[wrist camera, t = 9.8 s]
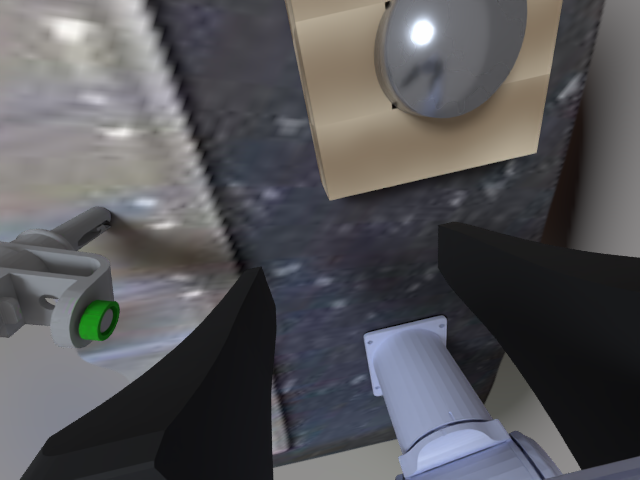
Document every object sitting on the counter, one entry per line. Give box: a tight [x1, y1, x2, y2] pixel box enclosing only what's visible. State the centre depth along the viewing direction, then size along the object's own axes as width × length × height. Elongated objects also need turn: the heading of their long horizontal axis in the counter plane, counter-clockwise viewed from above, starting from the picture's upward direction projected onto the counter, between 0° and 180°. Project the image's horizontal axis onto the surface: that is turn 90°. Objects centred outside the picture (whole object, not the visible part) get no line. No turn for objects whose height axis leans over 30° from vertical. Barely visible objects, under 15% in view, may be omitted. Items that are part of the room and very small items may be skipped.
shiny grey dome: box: [374, 0, 527, 118], centre depth 13 cm, size 6×6×6 cm
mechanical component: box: [0, 207, 120, 348], centre depth 14 cm, size 3×10×10 cm, turn 77°
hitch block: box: [285, 0, 563, 200], centre depth 14 cm, size 12×12×4 cm
